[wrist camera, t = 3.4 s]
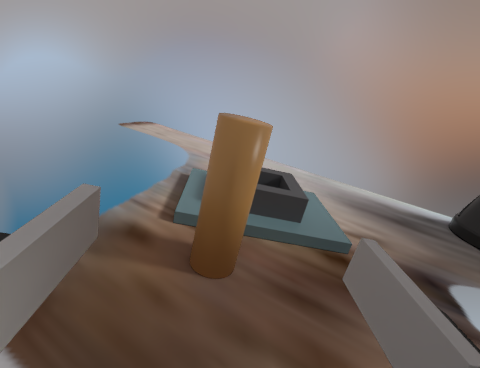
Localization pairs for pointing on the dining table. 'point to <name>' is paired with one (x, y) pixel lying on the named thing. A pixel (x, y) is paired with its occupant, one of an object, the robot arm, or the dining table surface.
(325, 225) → the dock
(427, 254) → the dining table surface
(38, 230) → the robot arm
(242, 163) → the cylinder
